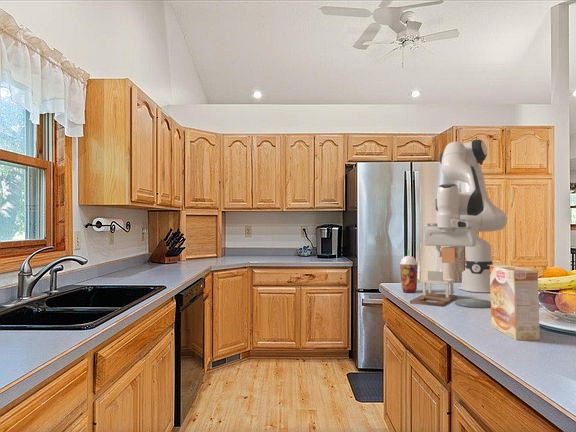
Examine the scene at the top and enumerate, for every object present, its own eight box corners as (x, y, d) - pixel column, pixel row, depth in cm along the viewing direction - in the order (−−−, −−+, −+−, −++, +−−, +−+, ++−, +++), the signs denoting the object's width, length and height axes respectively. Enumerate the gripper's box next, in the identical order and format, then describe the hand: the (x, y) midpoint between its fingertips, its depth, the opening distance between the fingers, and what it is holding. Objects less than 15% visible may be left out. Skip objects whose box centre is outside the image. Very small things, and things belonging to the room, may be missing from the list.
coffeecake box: (490, 326, 130) (488, 265, 130) (513, 326, 129) (511, 264, 130) (515, 340, 115) (513, 270, 115) (541, 340, 114) (539, 270, 115)
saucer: (459, 300, 174) (459, 297, 174) (496, 303, 165) (496, 300, 165) (451, 305, 162) (450, 303, 162) (489, 309, 154) (489, 306, 154)
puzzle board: (426, 295, 187) (426, 292, 187) (456, 297, 179) (456, 295, 179) (409, 303, 169) (409, 300, 169) (442, 306, 161) (442, 303, 161)
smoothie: (403, 290, 201) (402, 249, 202) (420, 291, 197) (419, 249, 197) (397, 292, 195) (396, 250, 195) (415, 294, 190) (413, 250, 190)
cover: (428, 292, 186) (428, 268, 186) (454, 294, 180) (453, 269, 180) (422, 295, 179) (421, 270, 179) (448, 297, 172) (447, 272, 173)
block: (444, 261, 171) (444, 247, 171) (457, 262, 168) (456, 247, 168) (441, 262, 167) (441, 248, 167) (454, 263, 164) (454, 248, 164)
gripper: (420, 223, 171) (421, 256, 171) (473, 223, 159) (474, 258, 159) (425, 223, 177) (426, 255, 176) (476, 222, 164) (477, 257, 164)
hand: (449, 257), depth 168 cm, fingers closed on block, 5 cm apart
